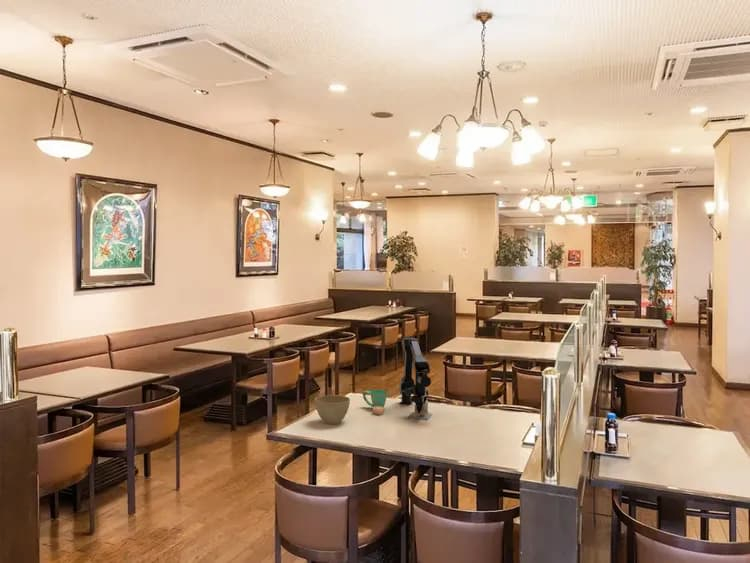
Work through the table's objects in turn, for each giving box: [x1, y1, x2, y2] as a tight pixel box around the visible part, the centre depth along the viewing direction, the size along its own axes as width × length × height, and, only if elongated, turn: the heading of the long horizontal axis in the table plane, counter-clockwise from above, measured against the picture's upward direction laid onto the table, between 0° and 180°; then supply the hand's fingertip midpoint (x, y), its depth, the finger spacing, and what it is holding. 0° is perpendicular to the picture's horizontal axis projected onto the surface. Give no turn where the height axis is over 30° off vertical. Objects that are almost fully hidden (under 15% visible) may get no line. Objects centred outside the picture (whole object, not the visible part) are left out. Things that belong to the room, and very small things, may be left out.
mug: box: [362, 389, 388, 408], centre depth 323 cm, size 15×10×10 cm
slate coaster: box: [407, 411, 433, 421], centre depth 307 cm, size 11×11×1 cm
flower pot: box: [314, 394, 351, 425], centre depth 295 cm, size 18×18×12 cm
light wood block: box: [425, 399, 429, 413], centre depth 317 cm, size 4×4×6 cm
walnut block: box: [414, 403, 426, 415], centre depth 307 cm, size 5×5×5 cm
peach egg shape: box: [372, 406, 385, 416], centre depth 312 cm, size 6×6×4 cm
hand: (420, 411), depth 307 cm, fingers closed on walnut block, 5 cm apart
